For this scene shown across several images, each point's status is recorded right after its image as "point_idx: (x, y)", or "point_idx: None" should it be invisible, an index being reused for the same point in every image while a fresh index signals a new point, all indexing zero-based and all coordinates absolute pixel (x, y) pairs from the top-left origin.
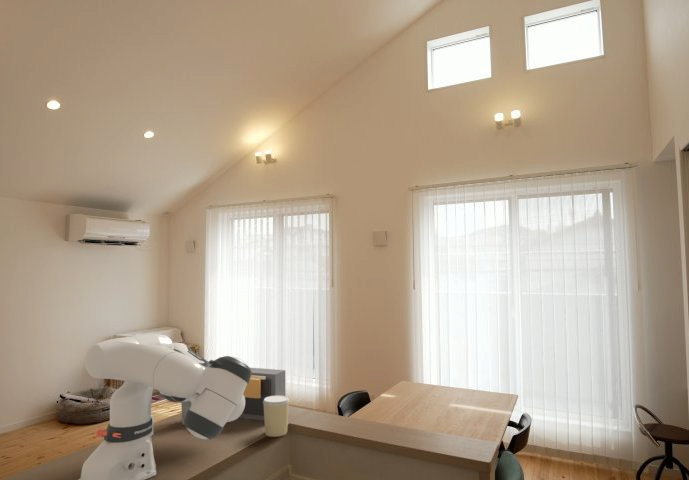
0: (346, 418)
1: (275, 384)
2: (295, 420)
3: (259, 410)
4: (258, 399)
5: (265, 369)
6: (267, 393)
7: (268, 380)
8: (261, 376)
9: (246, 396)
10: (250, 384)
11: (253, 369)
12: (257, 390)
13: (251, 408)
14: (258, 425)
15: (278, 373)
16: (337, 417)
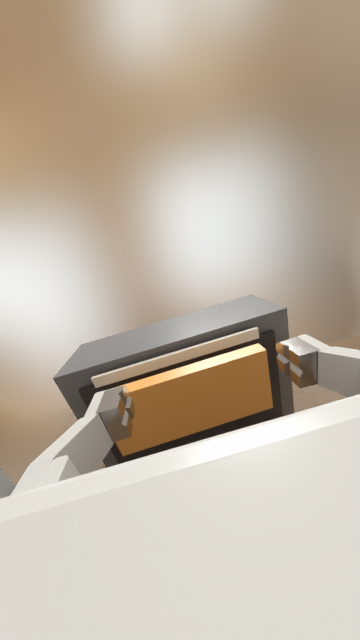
0: (357, 339)
1: (288, 337)
2: (311, 391)
3: (248, 424)
4: None
5: (198, 312)
6: (269, 373)
7: (268, 335)
8: (244, 333)
9: (222, 421)
10: (231, 379)
11: (167, 326)
12: (265, 386)
13: (221, 430)
14: None
15: (274, 303)
16: (340, 344)
